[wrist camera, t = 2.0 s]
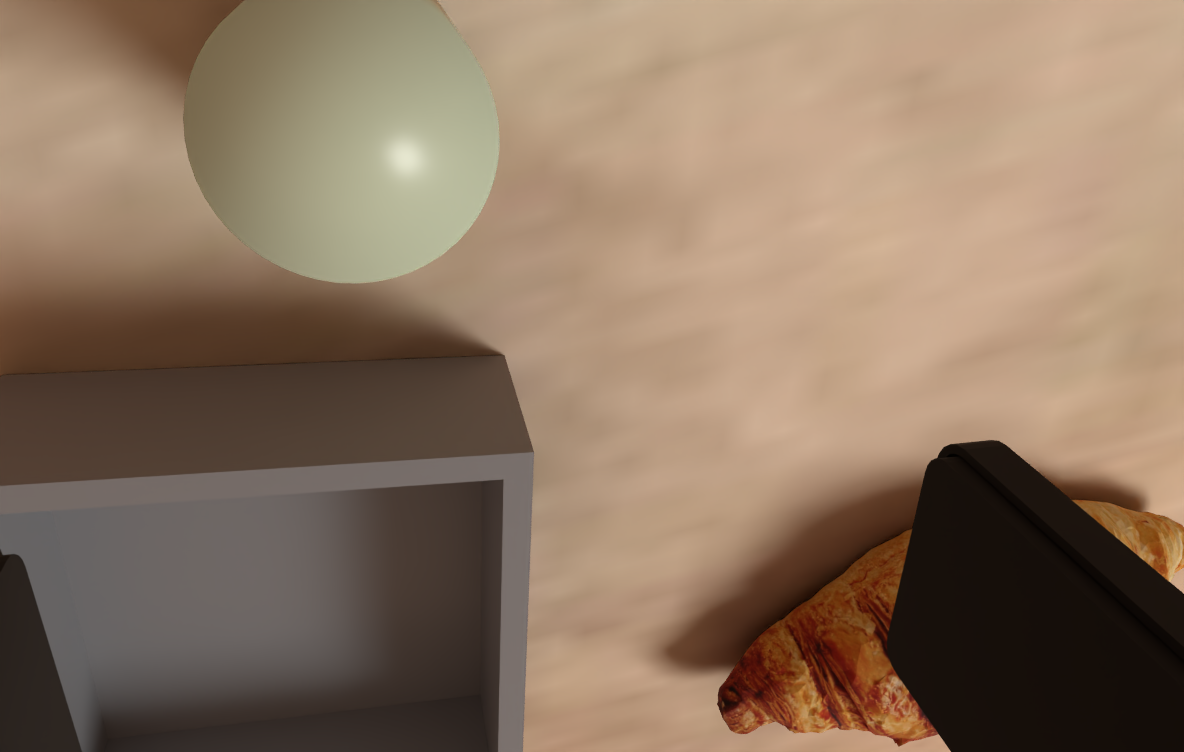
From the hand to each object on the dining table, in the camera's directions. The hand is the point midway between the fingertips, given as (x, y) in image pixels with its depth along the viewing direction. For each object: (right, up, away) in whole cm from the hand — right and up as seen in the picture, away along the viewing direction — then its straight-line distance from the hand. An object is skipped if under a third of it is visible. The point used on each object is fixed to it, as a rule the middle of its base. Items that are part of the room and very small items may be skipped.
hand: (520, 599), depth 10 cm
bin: (-10, -4, +22) cm, 24 cm away
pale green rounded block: (-6, +11, +15) cm, 20 cm away
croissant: (+15, -7, +30) cm, 35 cm away
